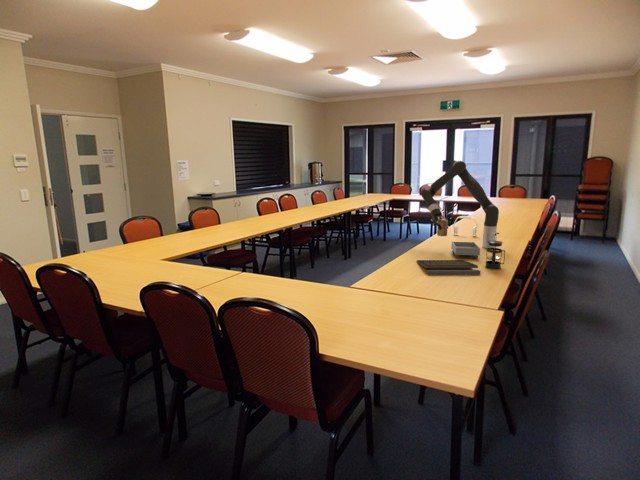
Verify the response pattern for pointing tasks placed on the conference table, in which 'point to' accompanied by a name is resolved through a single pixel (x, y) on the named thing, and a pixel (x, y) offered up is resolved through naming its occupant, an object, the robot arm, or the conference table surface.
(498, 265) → the french press
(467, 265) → the shutter
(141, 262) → the conference table surface
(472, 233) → the headset
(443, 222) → the walnut block
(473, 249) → the shallow gray tray
